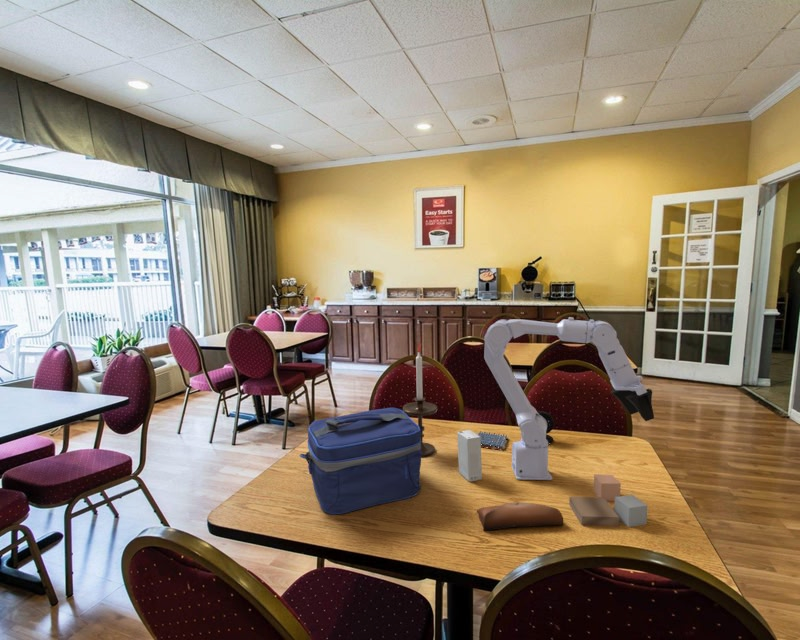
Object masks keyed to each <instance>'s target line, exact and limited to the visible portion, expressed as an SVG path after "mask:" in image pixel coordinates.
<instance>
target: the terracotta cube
mask: <svg viewBox="0 0 800 640" xmlns="http://www.w3.org/2000/svg"><path fill="white" fill-rule="evenodd" d="M593 492H594V493H595V495H596V497H603V498H605V500H606V501H607V502H608V501H609V502H615V497H619V496H621V482H620V481H619V480H618V479H617V478H616V477H615V476H614V474H596V473H595V474H593Z"/></svg>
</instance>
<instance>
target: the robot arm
mask: <svg viewBox="0 0 800 640" xmlns="http://www.w3.org/2000/svg"><path fill="white" fill-rule="evenodd" d="M526 334H528V335H542V336H543V335H545V336H557V337H558V339H559V340H560V341H562V342H568V343H569V342H571V343H582V344H589V343H592V344H594V345H595V346H596V349H597V351H598V356H599V358H600V360H601V362H602V364H603V367H604V368H605V371H606V373H607V375H608V377H609V379H610V380H609V382H610V384H611V386H612V388H613V389H612V390H611V391H609V393H610V394H612V395H613V397H615V398H616V399H617V400H618V401H619V402H620V403H621V404H622V407H624V409H625V410H626V411H627V412H628V414H629V415H631V416H632V415H634V414H636V413H638V414H639V415H640V417H641V418H642V419H643V420H644V421H645V422H648V421H651V420H653V419H655V415H654V411H653V410H654V409H653V403H652V396H653V390H652V389H650V388H646V387H645V385H644V384H643V383H641V381H642V380H644V378H643V376H642V375H637V374H636V372H635V370H634V369H633V366H632V364H631V363H630V359H629V358H628V356H627V353H626V352H625V349H624V347H623V346H622V345H621V343H620V340H619V339H618V338H617V336H618V333H617V331H616V330H615V328H614V327H613V326H612V325H611V324H610V323H609V322H607V321H602V320H596V321H595V320H594V319H589V320H578V319H575V318H574V317H571V316H569V317H568V319H565V318H564V319H561V321H559V322H558V323H557V322H556V323H555V322H549V321H548V322H547V321H538V320H530V319H521V318H520V319H519V318H518V319H516V318H515V319H511V318H510V319H502V318H501V319H499V320H497V321H495V322H494V323H493V324H491V325H489V327H488V328H487V331H486V332H485V334H484V338H483V339H484V350H483V351H484V353H483V354H484V355H483V358H484V360H485V361H484V362H485V363H486V365H487V366H488V368H489V370H490V371H491V373H492V376H493V378H494V379H495V381H496V384H498V386H499V388H500V389H501V391H502V393H503V395H504V397H505V398H506V400H507V402H508V404H509V405H510V407H511V409H512V411H513V413H514V415H515V417H516V422H517V425H518V427H519V429H520V437H521V438H520V440H519V441H514V442H512V445H511V469H512V471H513V474H514V476H515V478H516V479H517V480H519V481H522V480H528V481H529V480H530V481H531V480H532V481H533V480H534V481H536V480H537V481H542V480H543V481H552V480H553V476H552V475H551V474H550V472H549V469H548V468H549V444H548V441H547V440H548V439H547V440H546V430H547V422H546V420H545V419H544V418H543V417H542V416H541V415H539V414H538V413H537V412H538V411H537V410H536V409H537V408H535V407H534V406H533V405H532V404H531V402H530V401H529V399H528V397H527V395H526V394H525V392H524V390H523V388H522V387H521V385H520V383H519V381H518V379H517V377H515V374H514V372H513V371H512V369H511V367H510V366H509V364H508V361H507V360H506V359H505V357H504V355H505V351H506V349H507V346H508V343H509V342H510V341H511V340H512V338H513V339H516V338H518V337H519V338H520V337H521V336H523V335H526Z"/></svg>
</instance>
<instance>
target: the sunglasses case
mask: <svg viewBox="0 0 800 640" xmlns="http://www.w3.org/2000/svg"><path fill="white" fill-rule="evenodd" d="M476 513H477V516H478V517H479V521H480V523H481V526H482V529H483V531H490V530H498V529H505V528H506V529H508V528H509V529H510V528H513V527H515V528H516V527H517V528H518V527H531V526H532V527H533V526H535V527H537V526H538V527H539V526H541V527H542V526H555V525H556V526H558V525H559V526H562V527H563V526H564V517H563V516H564V515H563V514H562V512H561V511H560V510H559V509H558V508H556V507H553V506H550V505H545V504H542V503H536V502H535V503H534V502H521V501H518V502H516V501H515V502H506V503H504V504H503V503H502V504H501V505H500V504H498V505H490V506H485V507H482V508H478V509H477V510H476Z"/></svg>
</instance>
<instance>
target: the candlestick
mask: <svg viewBox="0 0 800 640" xmlns="http://www.w3.org/2000/svg"><path fill="white" fill-rule="evenodd" d="M421 347H422V343H420V344H419V346H418V348H417V355H416V357H415V367H416V370H415V371H416V373H415V374H416V382H415V383H416V397H414V398H413V400H414V401H413V402H412V401H411V402H408V403H405V404H404V405H403V406H402V411H403V412H404V413H405V414H406V415H408V416H415V417H417V425H418V426H419V427H420V430H421V436H420V438H421V450H422V458H424V457H425V458H426V457H430V456H432V455H434V454H435V452H436V451H435V450H436V447H435V445H433V444H431V443H428V442H423V440H424V439H423V438H424V437H425V434H424V433H423V432H424V431H425V426H424V425H423V417H425V416H427V417H428V416H430V415H431V416H432V415H434V414H436V413H437V411H438V406H437V405H436V404H435V403H433V402H430V401H429V402H427V401H426V400H427V398H426V397H423V391H424V390H423V356H421Z"/></svg>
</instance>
